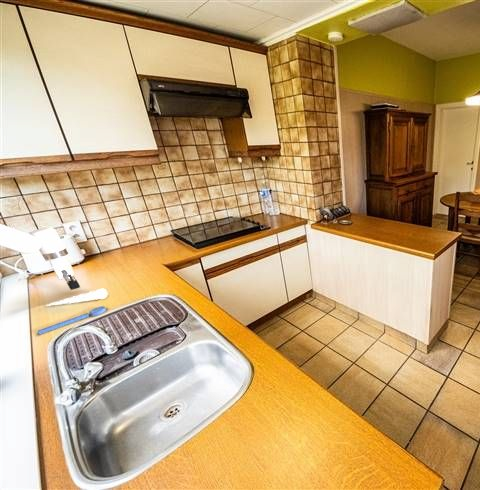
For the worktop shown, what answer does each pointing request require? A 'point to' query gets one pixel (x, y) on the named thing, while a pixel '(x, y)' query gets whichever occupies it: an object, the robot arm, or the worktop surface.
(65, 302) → the unicorn horn
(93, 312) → the blue spoon
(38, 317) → the worktop surface
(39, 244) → the robot arm
